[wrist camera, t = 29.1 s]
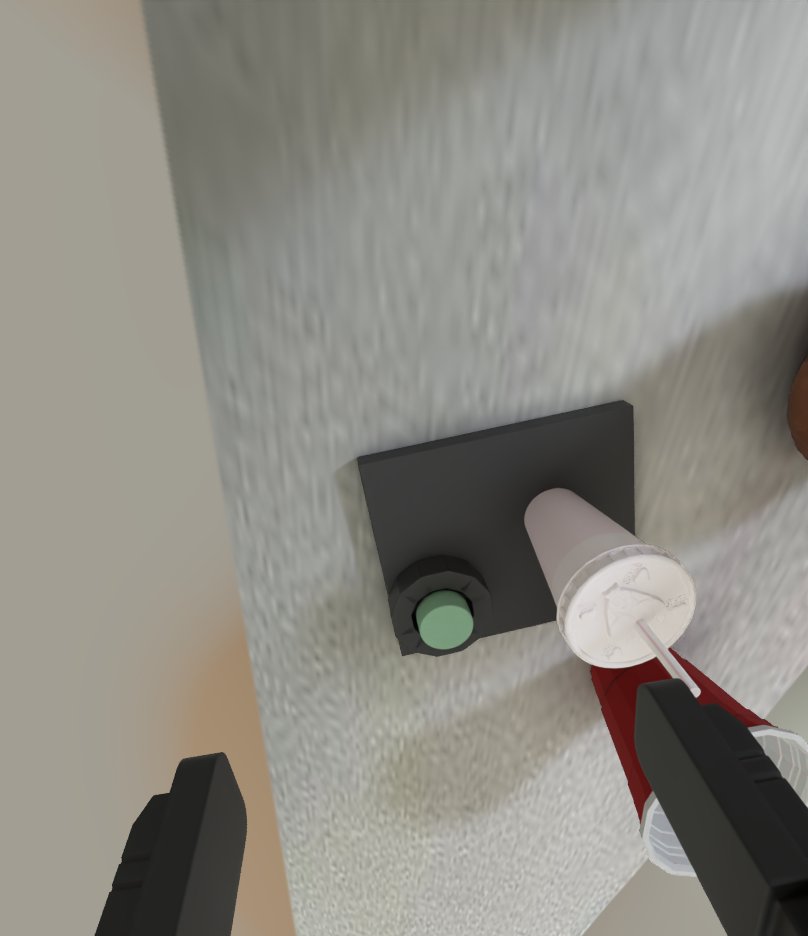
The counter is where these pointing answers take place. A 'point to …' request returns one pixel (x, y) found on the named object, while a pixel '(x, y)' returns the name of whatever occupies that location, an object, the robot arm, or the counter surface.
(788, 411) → the butternut squash
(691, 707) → the robot arm
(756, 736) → the plastic cup
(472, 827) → the counter surface
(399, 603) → the scale
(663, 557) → the smoothie
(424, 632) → the button
